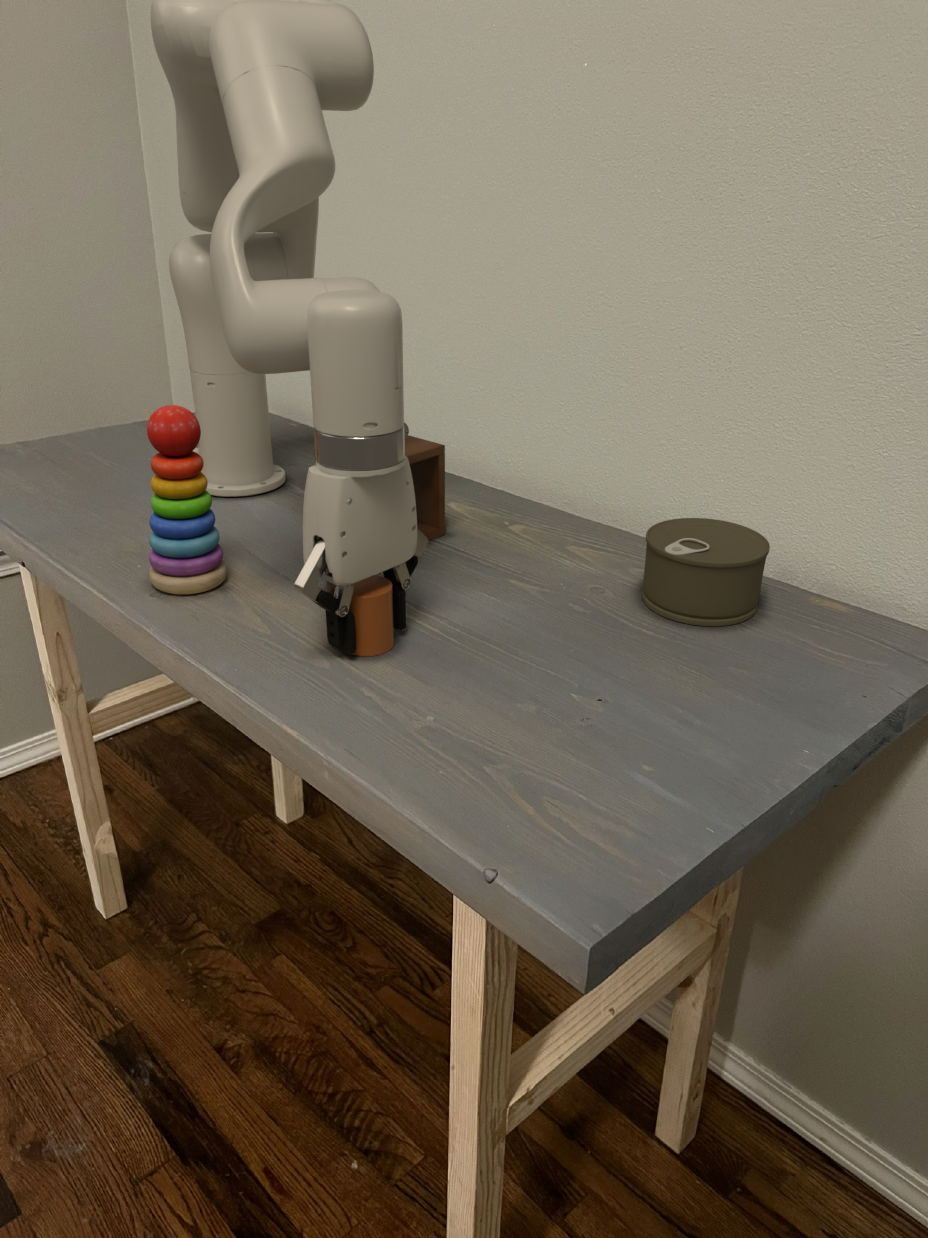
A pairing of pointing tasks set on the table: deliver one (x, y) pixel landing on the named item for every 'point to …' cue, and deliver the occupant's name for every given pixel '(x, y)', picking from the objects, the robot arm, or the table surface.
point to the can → (703, 571)
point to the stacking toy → (181, 508)
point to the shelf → (427, 484)
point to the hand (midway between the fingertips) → (367, 635)
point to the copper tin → (373, 616)
